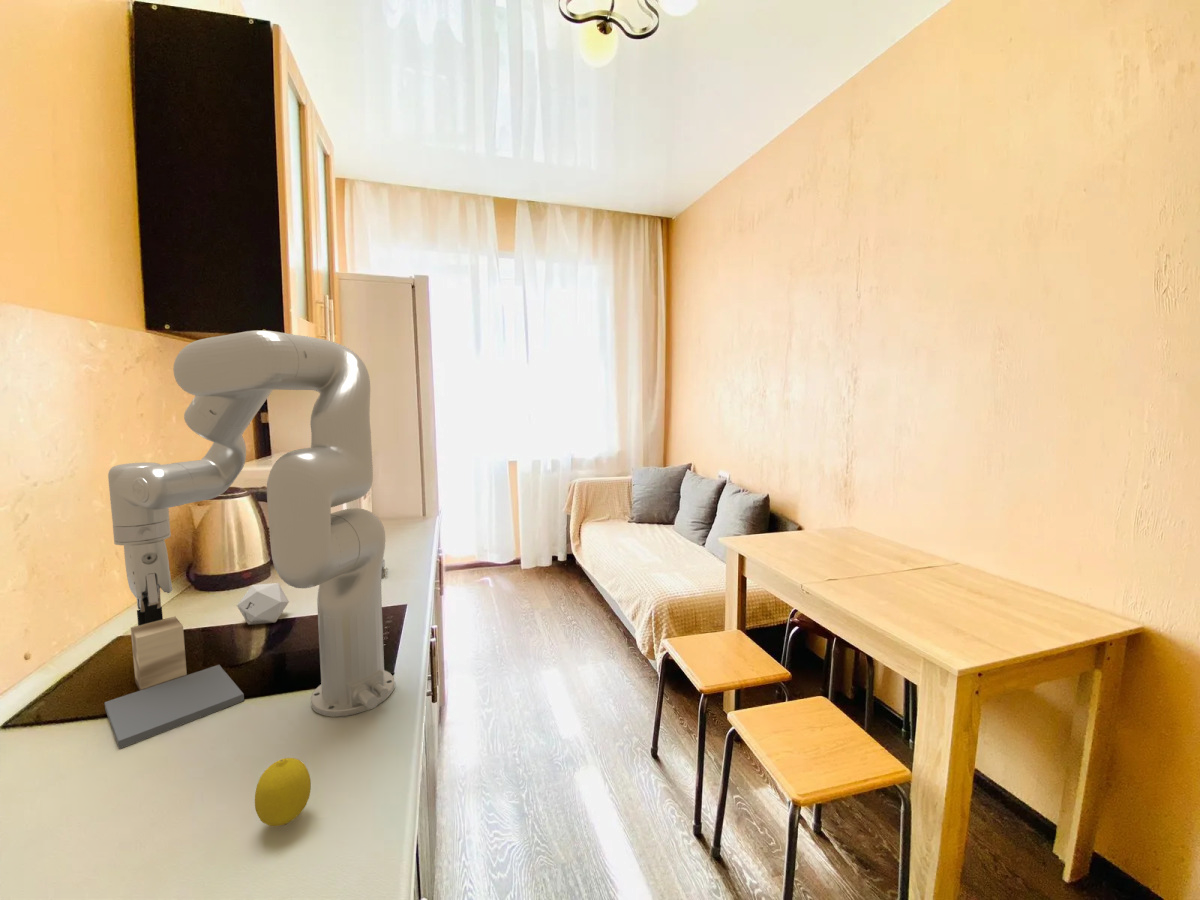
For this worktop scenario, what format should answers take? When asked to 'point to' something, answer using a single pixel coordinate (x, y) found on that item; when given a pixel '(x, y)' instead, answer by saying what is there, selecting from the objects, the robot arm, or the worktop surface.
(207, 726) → the worktop surface
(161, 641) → the birch block
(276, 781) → the lemon
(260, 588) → the die
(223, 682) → the mat
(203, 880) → the worktop surface
